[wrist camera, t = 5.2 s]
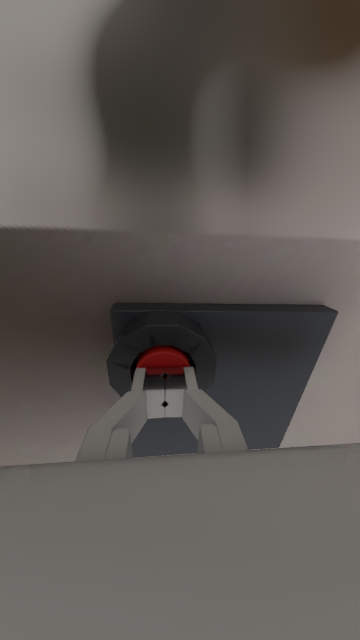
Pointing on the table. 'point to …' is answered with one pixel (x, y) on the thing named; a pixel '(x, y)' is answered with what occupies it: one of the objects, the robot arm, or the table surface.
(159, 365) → the button
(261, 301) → the table surface
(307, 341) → the scale
